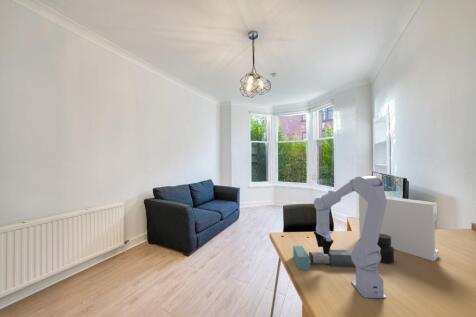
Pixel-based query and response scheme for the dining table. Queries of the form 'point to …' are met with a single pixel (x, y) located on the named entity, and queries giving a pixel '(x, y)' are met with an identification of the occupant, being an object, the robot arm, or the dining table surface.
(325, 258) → the grey square bar
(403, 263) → the dining table surface
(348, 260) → the dark grey rectangular bar
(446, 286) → the dining table surface
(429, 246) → the block
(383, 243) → the ink bottle
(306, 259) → the socket block
